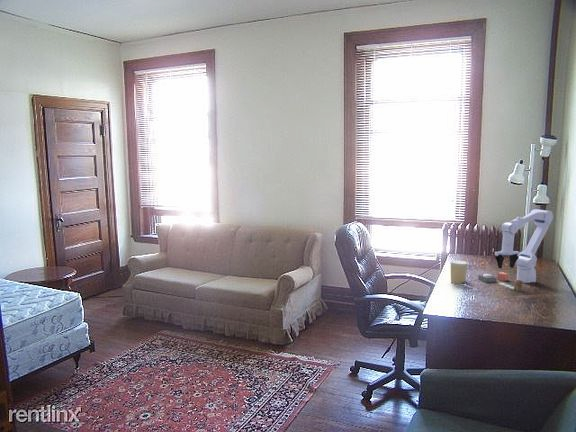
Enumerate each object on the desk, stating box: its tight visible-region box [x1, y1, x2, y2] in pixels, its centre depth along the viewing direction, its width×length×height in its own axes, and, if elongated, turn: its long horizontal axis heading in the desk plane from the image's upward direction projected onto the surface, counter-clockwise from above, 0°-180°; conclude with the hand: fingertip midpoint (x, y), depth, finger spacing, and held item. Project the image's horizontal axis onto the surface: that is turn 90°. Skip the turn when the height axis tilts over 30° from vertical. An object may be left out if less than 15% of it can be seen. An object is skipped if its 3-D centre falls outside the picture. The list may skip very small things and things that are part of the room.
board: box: [477, 274, 523, 292], centre depth 250 cm, size 19×25×4 cm
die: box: [497, 271, 509, 282], centre depth 259 cm, size 4×4×4 cm
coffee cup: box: [449, 259, 468, 285], centre depth 258 cm, size 9×9×12 cm
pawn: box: [513, 279, 523, 292], centre depth 240 cm, size 4×4×5 cm
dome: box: [482, 273, 493, 278], centre depth 257 cm, size 5×5×3 cm
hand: (505, 267), depth 251 cm, fingers open, 7 cm apart
